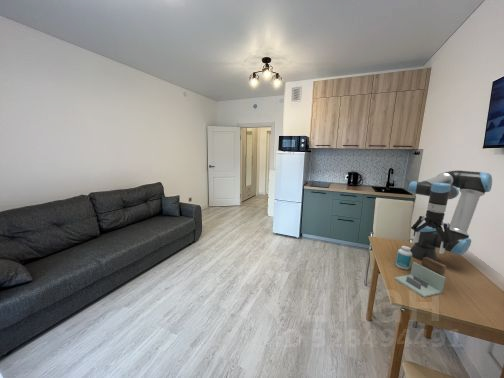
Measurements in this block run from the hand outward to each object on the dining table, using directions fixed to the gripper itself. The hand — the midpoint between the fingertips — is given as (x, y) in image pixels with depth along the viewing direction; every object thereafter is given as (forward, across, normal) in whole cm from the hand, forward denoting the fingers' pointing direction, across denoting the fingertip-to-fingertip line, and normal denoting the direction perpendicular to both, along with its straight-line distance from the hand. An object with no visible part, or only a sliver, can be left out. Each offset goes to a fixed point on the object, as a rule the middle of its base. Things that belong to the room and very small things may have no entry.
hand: (427, 247), depth 119 cm
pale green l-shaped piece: (+20, +4, -9) cm, 22 cm away
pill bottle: (+20, -13, +2) cm, 24 cm away
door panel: (+20, +2, +4) cm, 21 cm away
